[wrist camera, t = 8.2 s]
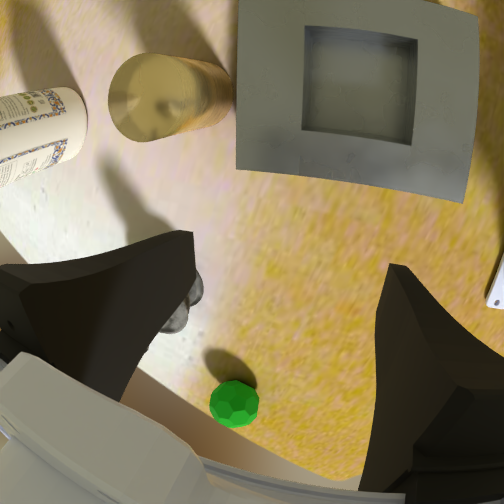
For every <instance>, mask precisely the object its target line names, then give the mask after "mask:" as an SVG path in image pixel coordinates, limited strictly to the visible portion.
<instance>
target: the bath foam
mask: <svg viewBox="0 0 504 504" xmlns="http://www.w3.org/2000/svg"><path fill="white" fill-rule="evenodd" d="M86 132H87V114H86V109H85V106H84V103H83V101H82V99H81V98H80V96H79V95H78V94H77V93H76V92H75V91H74V90H72V89H70V88H67V87H58V88H50V89H42V90H35V91H29V92H24V93H18V94H13V95H8V96H3V97H0V187H3V186H5V185H7V184H9V183H12V182H14V181H16V180H19V179H21V178H23V177H26V176H28V175H31V174H33V173H36V172H38V171H41V170H43V169H46V168H48V167H51V166H54V165H56V164H58V163H61V162H64V161H67V160H69V159H71V158H73V157H74V156H75V155H76V154H77V153H78V152H79V151H80V149H81V147H82V145H83V143H84V140H85V137H86Z"/></svg>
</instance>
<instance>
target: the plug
mask: <svg viewBox="0 0 504 504" xmlns="http://www.w3.org/2000/svg"><path fill="white" fill-rule="evenodd" d="M233 96H234V91H233V85H232V82H231V79H230V77H229V76H228V74H227V73H226V72H225V71H224V70H223V69H222V68H221V67H219V66H218V65H215V64H213V63H209V62H204V61H199V60H193V59H188V58H182V57H176V56H169V55H163V54H155V53H142V54H138V55H136V56H133V57H132V58H130V59H128V60H127V61H126V62H124V63H123V64H122V65H121V67H120V68H119V69H118V70H117V72H116V74H115V75H114V77H113V79H112V82H111V85H110V89H109V95H108V106H109V112H110V115H111V118H112V121H113V123H114V125H115V126H116V128H117V129H118V130H119V131H120V132H121V133H122V134H123V135H124V136H125V137H127V138H129V139H131V140H133V141H137V142H149V141H153V140H157V139H161V138H164V137H168V136H172V135H176V134H180V133H184V132H188V131H192V130H196V129H201V128H205V127H209V126H212V125H215V124H217V123H218V122H220V121H221V120H222V119H223V118H224V117H225V116H226V115H227V113H228V112H229V110H230V108H231V105H232V102H233Z"/></svg>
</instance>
